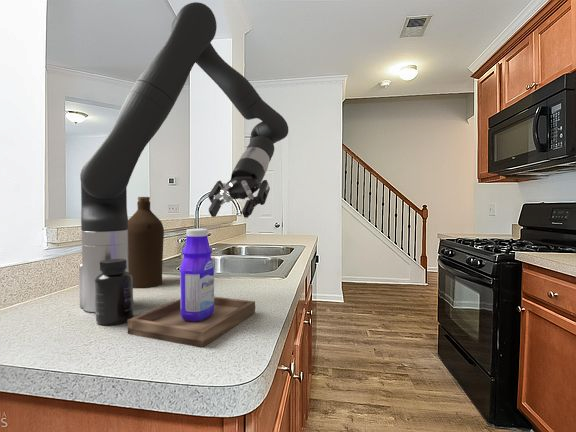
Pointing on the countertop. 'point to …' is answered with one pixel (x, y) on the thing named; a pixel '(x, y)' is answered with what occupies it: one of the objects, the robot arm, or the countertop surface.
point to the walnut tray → (191, 322)
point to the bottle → (197, 277)
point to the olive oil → (145, 246)
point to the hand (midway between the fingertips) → (227, 214)
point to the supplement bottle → (113, 293)
